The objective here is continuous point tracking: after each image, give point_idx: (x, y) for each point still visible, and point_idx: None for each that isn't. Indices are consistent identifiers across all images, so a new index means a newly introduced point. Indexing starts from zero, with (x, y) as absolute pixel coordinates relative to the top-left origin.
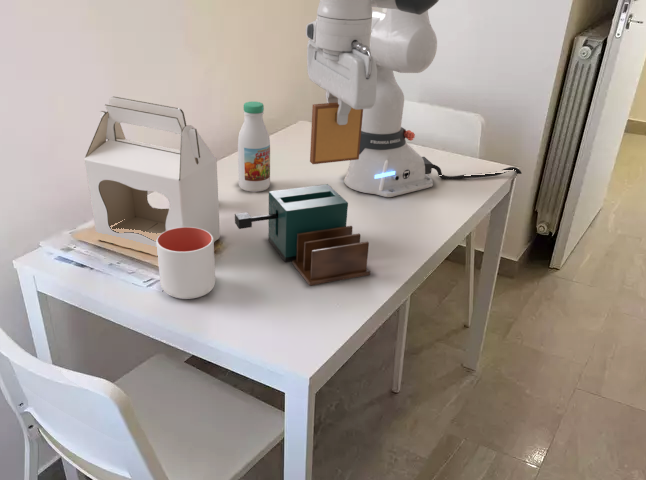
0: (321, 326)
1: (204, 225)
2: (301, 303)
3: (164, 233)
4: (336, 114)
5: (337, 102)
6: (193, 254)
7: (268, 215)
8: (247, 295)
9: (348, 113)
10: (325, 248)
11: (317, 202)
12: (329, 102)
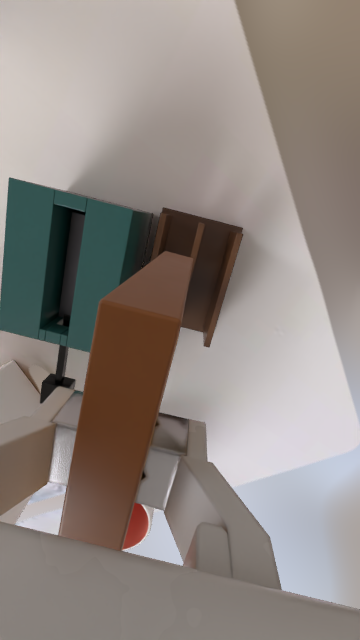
0: (304, 380)
1: (18, 416)
2: (242, 368)
3: None
4: (157, 503)
5: (65, 503)
6: (151, 524)
7: (63, 349)
8: (183, 412)
9: (215, 470)
10: (212, 322)
11: (97, 274)
12: (6, 506)
